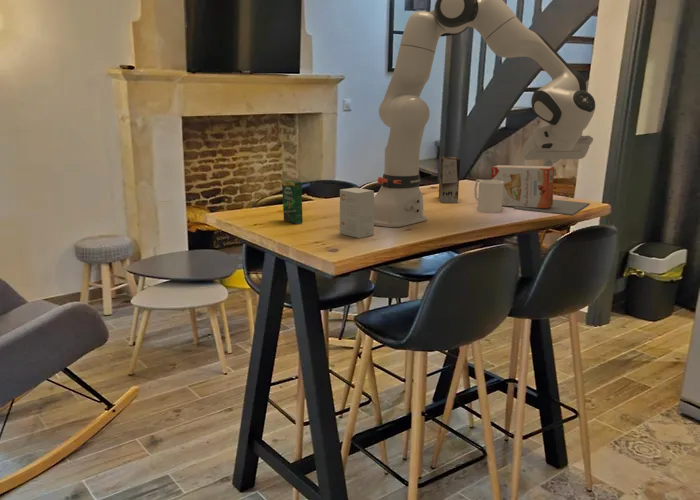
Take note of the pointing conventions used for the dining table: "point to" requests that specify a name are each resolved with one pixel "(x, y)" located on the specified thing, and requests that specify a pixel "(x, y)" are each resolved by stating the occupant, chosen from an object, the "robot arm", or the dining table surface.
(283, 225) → the dining table surface
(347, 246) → the dining table surface
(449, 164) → the coffee box
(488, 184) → the cup
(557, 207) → the slate mat
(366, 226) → the small box
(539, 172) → the cracker box
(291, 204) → the coffee box
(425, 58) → the robot arm
